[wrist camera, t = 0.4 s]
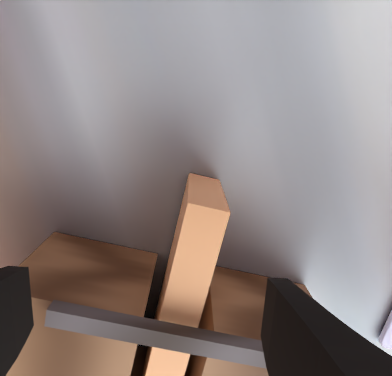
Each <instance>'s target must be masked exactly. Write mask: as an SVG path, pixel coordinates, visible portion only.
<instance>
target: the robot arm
mask: <svg viewBox="0 0 392 376" xmlns="http://www.w3.org/2000/svg"><path fill="white" fill-rule="evenodd" d="M33 326H34V321H33V310H32V299H31V288H30V278H29V267H18V266H7V267H4V268H0V376H6V374H7V373H8V371H9V370H10V368H11V367H12V365H13V364H14V362H15V361H16V359H17V358H18V356H19V354H20V352H21V350H22V348H23V346H24V345H25V343H26V341H27V339H28V337H29V335H30V333H31V330H32V328H33ZM261 341H262V347H263V353H264V358H265V363H266V368H267V372H268V375H269V376H392V356H391V355H389V354H387V353H386V352H384V351H383V350H381V349H380V348H378V347H377V346H375V345H374V344H372V343H371V342H369V341H368V340H367V339H365V338H364V337H362V336H361V335H360V334H358V333H357V332H355V331H354V330H353V329H351V328H350V327H348V326H347V325H346V324H344V323H343V322H342V321H340V320H339V319H338V318H337V317H335V316H334V315H333V314H331V313H330V312H329V311H328V310H326V309H325V308H324V307H323V306H321V305H320V304H319V303H318V302H316V301H315V300H314V299H313V298H312V297H310V296H309V295H308V294H307V293H306V292H304V291H303V290H302V289H301V288H299V287H298V286H297V285H296V284H294V283H293V282H292V281H290V280H289V279H285V278H267V286H266V294H265V302H264V310H263V318H262V327H261ZM379 343H380V344H381V345H382V346H383V347H384V348H388V349H392V310H391V312H390V314H389V317H388V319H387V321H386V323H385V325H384V328H383V330H382V332H381V334H380V336H379Z"/></svg>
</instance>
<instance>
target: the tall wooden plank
mask: <svg viewBox="0 0 392 376" xmlns="http://www.w3.org/2000/svg"><path fill="white" fill-rule="evenodd" d="M230 213H231V212H230V209H229V206H228V203H227V201H226V198H225V195H224V192H223V189H222V186H221V183H220V180H218V179H214V178H209V177H205V176H201V175H196V174H192V173H189V175H188V179H187V184H186V188H185V192H184V196H183V200H182V204H181V209H180V213H179V217H178V221H177V225H176V229H175V234H174V238H173V242H172V246H171V250H170V254H169V259H168V263H167V267H166V271H165V275H164V279H163V284H162V288H161V292H160V296H159V300H158V304H157V309H156V313H155V317H154V319H155V320H160V321H165V322H170V323H175V324H180V325H185V326H190V327H195V328H198V326H199V322H200V319H201V315H202V311H203V308H204V304H205V301H206V297H207V294H208V290H209V287H210V283H211V280H212V276H213V273H214V269H215V266H216V262H217V259H218V255H219V252H220V248H221V245H222V241H223V237H224V234H225V230H226V227H227V223H228V220H229V216H230ZM189 357H190V354H187V353H182V352H177V351H171V350H166V349H161V348H156V347H150V346H148V347H147V352H146V358H145V363H144V369H143V374H142V376H184V375H185V371H186V368H187V364H188V361H189Z"/></svg>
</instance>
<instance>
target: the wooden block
mask: <svg viewBox="0 0 392 376" xmlns="http://www.w3.org/2000/svg"><path fill="white" fill-rule="evenodd" d="M157 256H158V254H157V253H152V252H147V251H143V250H138V249H133V248H128V247H124V246H119V245H114V244H110V243H105V242H100V241H95V240H91V239H86V238H81V237H76V236H72V235H67V234H62V233H58V232H54V233H53V234H52V235H51V236H50V237H49V238H47V239H46V240H45V241H44V242H43V243H42V244H41V245H40V246H39V247H38V248H37V249H36V250H35V251H34V252H33V253H32V254H31V255H30V256H29V257H28V258H27V259H26V260H25V261H23V262H22V263H21V264H20V265H19V266H18V267H29V278H30V288H31V299H32V310H33V321H34V326H33V328H32V330H31V333H30V335H29V337H28V339H27V341H26V343H25V345H24V346H23V348H22V350H21V352H20V354H19V356H18V358H17V359H16V361H15V362H14V364H13V365H12V367H11V368H10V370H9V371H8V373H7V374H6V376H142V374H143V369H144V363H145V358H146V352H147V347H141V346H137V345H138V344H140V345H145V346H150V347H156V348H161V349H166V350H171V351H177V352H182V353H187V354H190V357H189V361H188V364H187V368H186V371H185V375H184V376H269V375H268V372H267V368H266V363H265V358H264V353H263V347H262V341H261V327H262V318H263V310H264V302H265V294H266V286H267V278H270V277H265V276H260V275H256V274H251V273H246V272H242V271H237V270H232V269H227V268H223V267H218V266H215V269H214V273H213V276H212V280H211V283H210V287H209V290H208V294H207V297H206V301H205V304H204V308H203V311H202V315H201V319H200V322H199V326H198V328H195V327H190V326H185V325H180V324H175V323H170V322H165V321H160V320H155V319H150V318H145V317H144V314H145V309H146V305H147V301H148V296H149V292H150V287H151V283H152V278H153V274H154V269H155V265H156V260H157ZM294 284H296V285H297V286H298V287H299V288H301V289H302V290H303V291H304V292H306V293H307V294H308V295H309V296H310V297H312V296H311V295H310V293H309V291H308V290H307V288H306V286H305V285H303V284H298V283H294Z"/></svg>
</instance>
